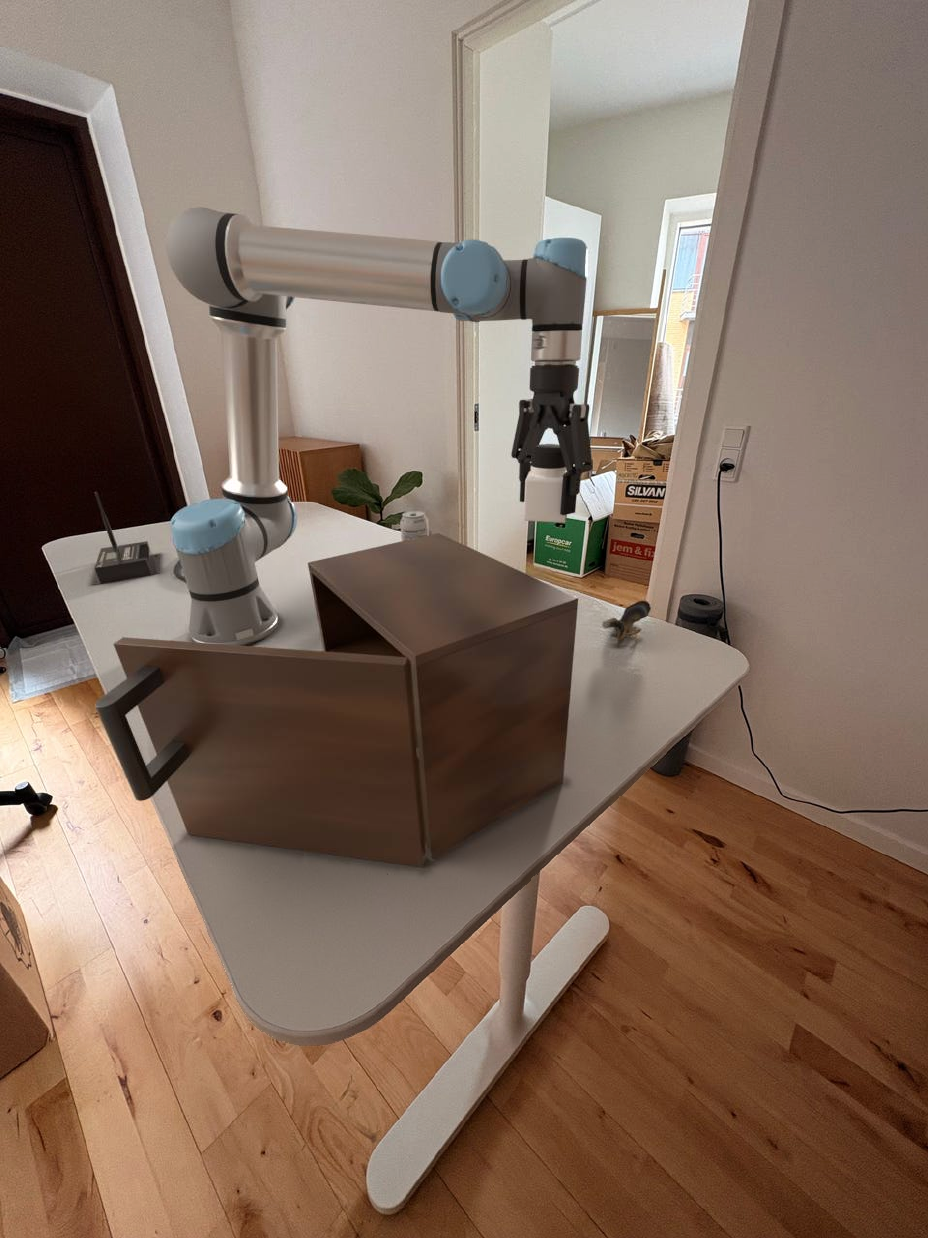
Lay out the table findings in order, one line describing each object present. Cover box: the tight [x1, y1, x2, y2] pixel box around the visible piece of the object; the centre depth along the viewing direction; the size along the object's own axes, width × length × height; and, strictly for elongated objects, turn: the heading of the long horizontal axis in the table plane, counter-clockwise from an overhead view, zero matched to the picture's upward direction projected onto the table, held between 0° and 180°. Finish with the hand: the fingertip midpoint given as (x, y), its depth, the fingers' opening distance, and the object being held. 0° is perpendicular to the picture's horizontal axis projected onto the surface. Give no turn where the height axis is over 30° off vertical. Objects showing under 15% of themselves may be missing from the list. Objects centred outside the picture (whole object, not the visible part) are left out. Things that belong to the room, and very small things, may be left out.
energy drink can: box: [399, 510, 430, 541], centre depth 114 cm, size 6×6×15 cm
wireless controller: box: [91, 491, 160, 586], centre depth 125 cm, size 20×14×17 cm
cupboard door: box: [94, 637, 427, 868], centre depth 46 cm, size 7×26×24 cm, turn 80°
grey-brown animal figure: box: [601, 600, 652, 648], centre depth 89 cm, size 8×7×9 cm
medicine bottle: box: [523, 443, 568, 524], centre depth 87 cm, size 7×7×12 cm
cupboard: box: [307, 532, 579, 859], centre depth 60 cm, size 18×26×24 cm
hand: (546, 506), depth 89 cm, fingers closed on medicine bottle, 10 cm apart
